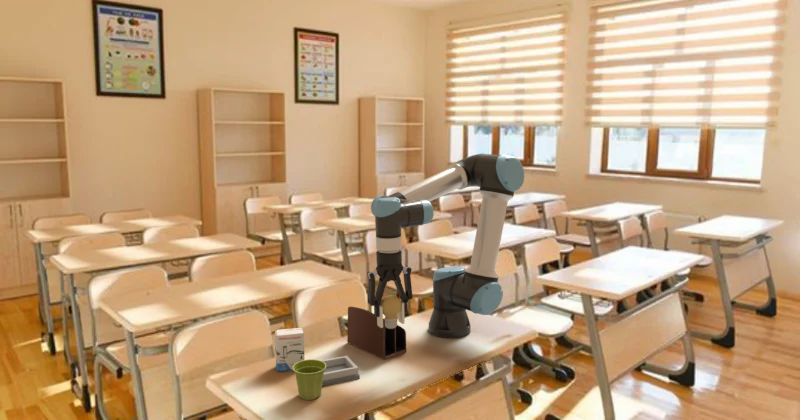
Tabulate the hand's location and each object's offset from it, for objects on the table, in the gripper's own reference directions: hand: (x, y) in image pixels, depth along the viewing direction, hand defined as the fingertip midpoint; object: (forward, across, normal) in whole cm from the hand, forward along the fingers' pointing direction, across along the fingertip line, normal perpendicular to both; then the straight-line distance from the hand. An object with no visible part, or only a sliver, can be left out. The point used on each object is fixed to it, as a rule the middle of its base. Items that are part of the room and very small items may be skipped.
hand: (391, 324), depth 182 cm
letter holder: (+15, -3, -19) cm, 25 cm away
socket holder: (+14, +18, -5) cm, 23 cm away
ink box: (+15, +28, -16) cm, 35 cm away
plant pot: (+15, +27, +5) cm, 31 cm away
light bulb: (+1, 0, 0) cm, 1 cm away
